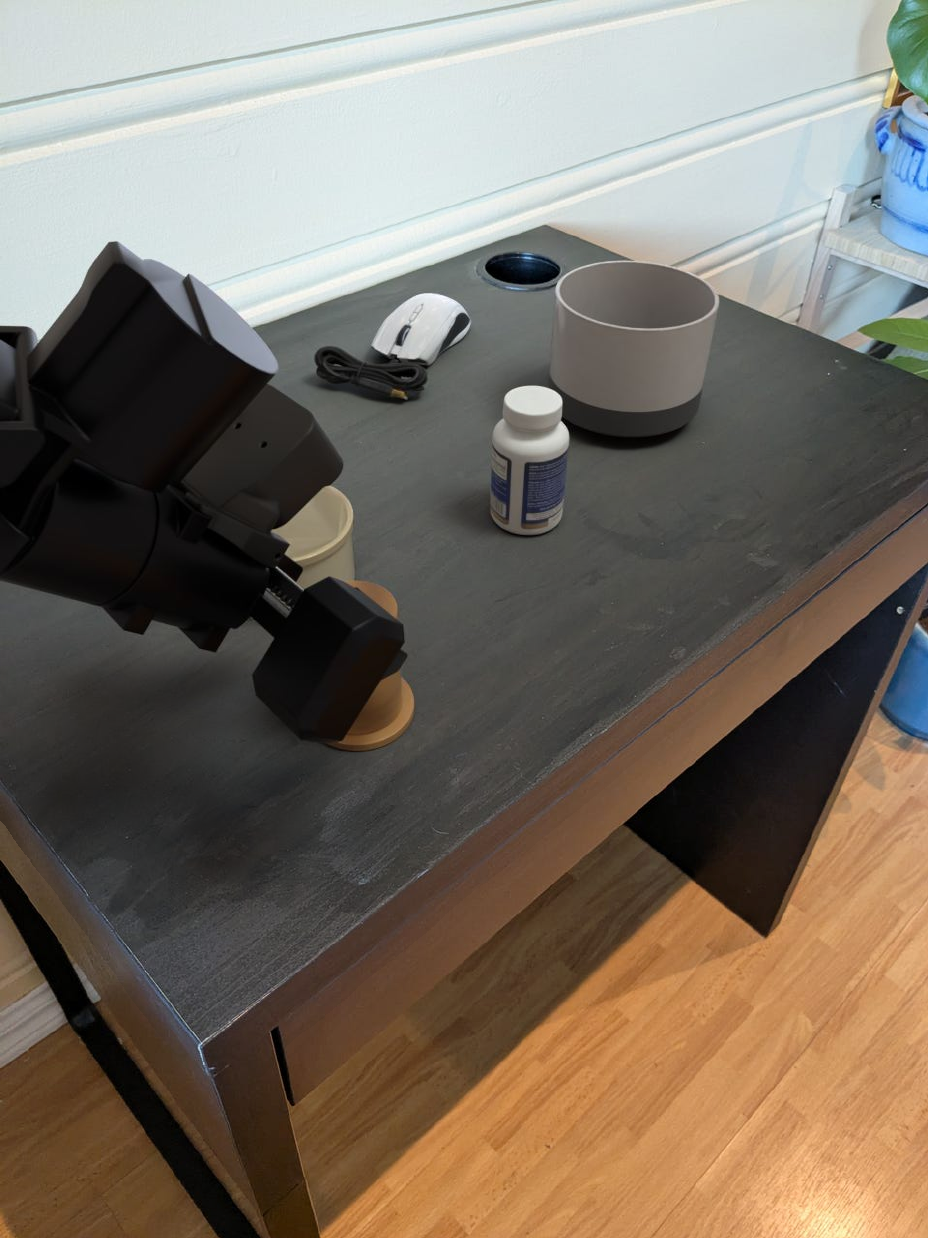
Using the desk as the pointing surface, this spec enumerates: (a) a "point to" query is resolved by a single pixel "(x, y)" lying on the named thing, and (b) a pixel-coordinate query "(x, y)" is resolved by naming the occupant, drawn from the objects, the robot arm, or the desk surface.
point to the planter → (631, 346)
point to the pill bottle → (529, 461)
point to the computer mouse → (400, 347)
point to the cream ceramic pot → (321, 538)
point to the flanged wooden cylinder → (380, 695)
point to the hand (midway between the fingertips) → (347, 616)
